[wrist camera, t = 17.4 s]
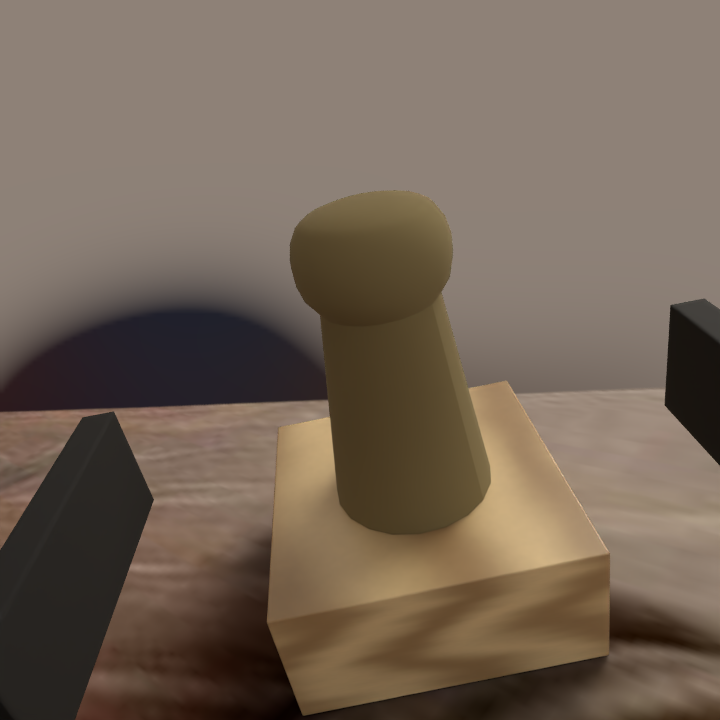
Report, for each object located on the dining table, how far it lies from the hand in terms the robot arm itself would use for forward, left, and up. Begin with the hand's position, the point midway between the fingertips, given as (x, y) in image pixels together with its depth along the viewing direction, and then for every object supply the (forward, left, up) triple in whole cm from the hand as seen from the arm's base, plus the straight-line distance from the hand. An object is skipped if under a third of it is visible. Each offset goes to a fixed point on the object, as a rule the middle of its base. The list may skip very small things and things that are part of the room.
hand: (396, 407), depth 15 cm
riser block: (-1, +7, -13) cm, 14 cm away
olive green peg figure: (-1, +6, -8) cm, 10 cm away
